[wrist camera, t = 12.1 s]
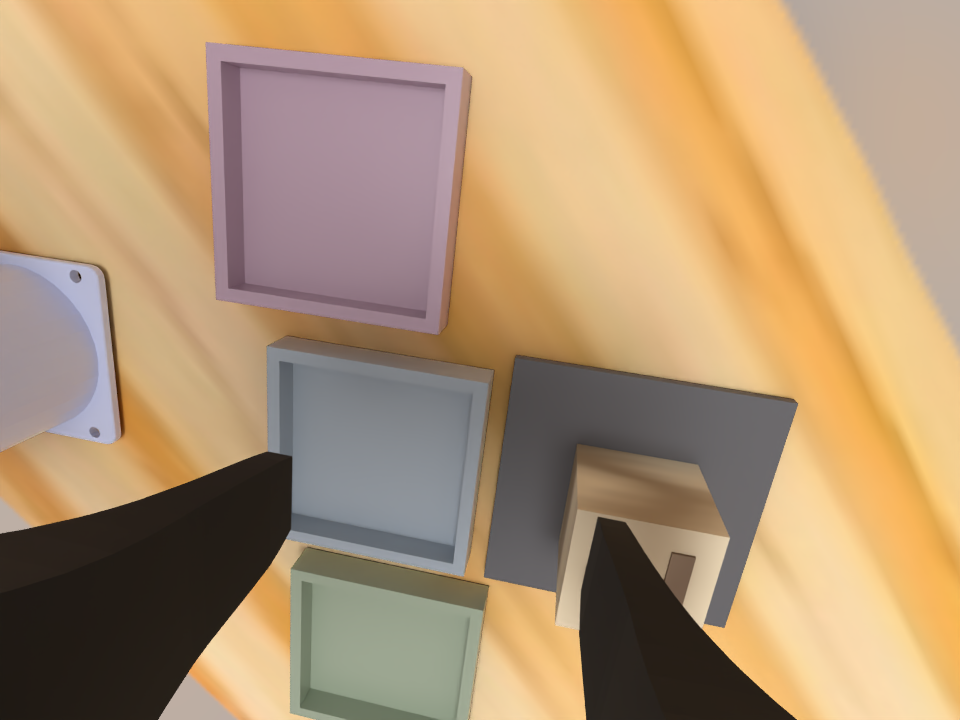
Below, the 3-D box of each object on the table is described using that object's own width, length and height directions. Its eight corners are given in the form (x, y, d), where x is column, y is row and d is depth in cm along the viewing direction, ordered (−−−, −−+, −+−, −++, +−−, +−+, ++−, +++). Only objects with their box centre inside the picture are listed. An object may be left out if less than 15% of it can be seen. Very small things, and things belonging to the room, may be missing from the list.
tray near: (239, 292, 22) (216, 299, 20) (232, 52, 19) (205, 41, 18) (447, 324, 21) (438, 335, 19) (472, 76, 18) (463, 67, 17)
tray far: (304, 686, 28) (290, 712, 27) (306, 547, 25) (290, 568, 24) (468, 726, 27) (462, 756, 26) (488, 585, 24) (483, 610, 23)
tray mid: (286, 515, 25) (268, 535, 23) (286, 335, 22) (266, 346, 21) (470, 553, 24) (463, 576, 22) (494, 370, 21) (488, 383, 20)
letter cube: (558, 541, 22) (554, 627, 18) (577, 443, 21) (577, 511, 17) (671, 563, 22) (694, 657, 18) (698, 464, 21) (730, 539, 16)
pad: (485, 570, 24) (483, 577, 24) (516, 354, 21) (515, 358, 20) (721, 620, 23) (724, 627, 22) (793, 399, 20) (798, 403, 19)
